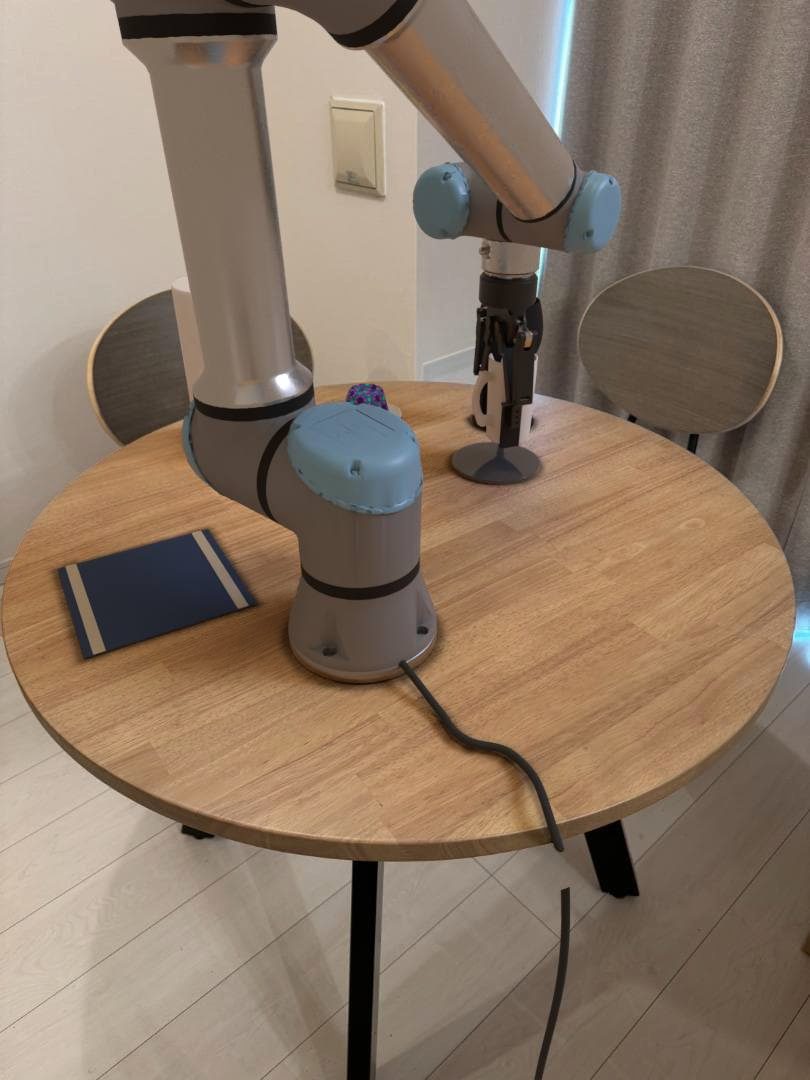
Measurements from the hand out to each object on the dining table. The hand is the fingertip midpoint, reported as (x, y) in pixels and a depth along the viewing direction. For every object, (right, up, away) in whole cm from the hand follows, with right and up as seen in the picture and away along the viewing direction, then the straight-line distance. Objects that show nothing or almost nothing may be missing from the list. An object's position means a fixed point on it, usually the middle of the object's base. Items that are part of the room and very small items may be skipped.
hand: (497, 436), depth 107 cm
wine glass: (+3, +5, +16) cm, 17 cm away
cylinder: (-39, -1, +8) cm, 40 cm away
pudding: (-20, +5, +17) cm, 27 cm away
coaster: (0, -4, +2) cm, 4 cm away
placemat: (-42, -20, -24) cm, 52 cm away
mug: (0, -1, 0) cm, 1 cm away
